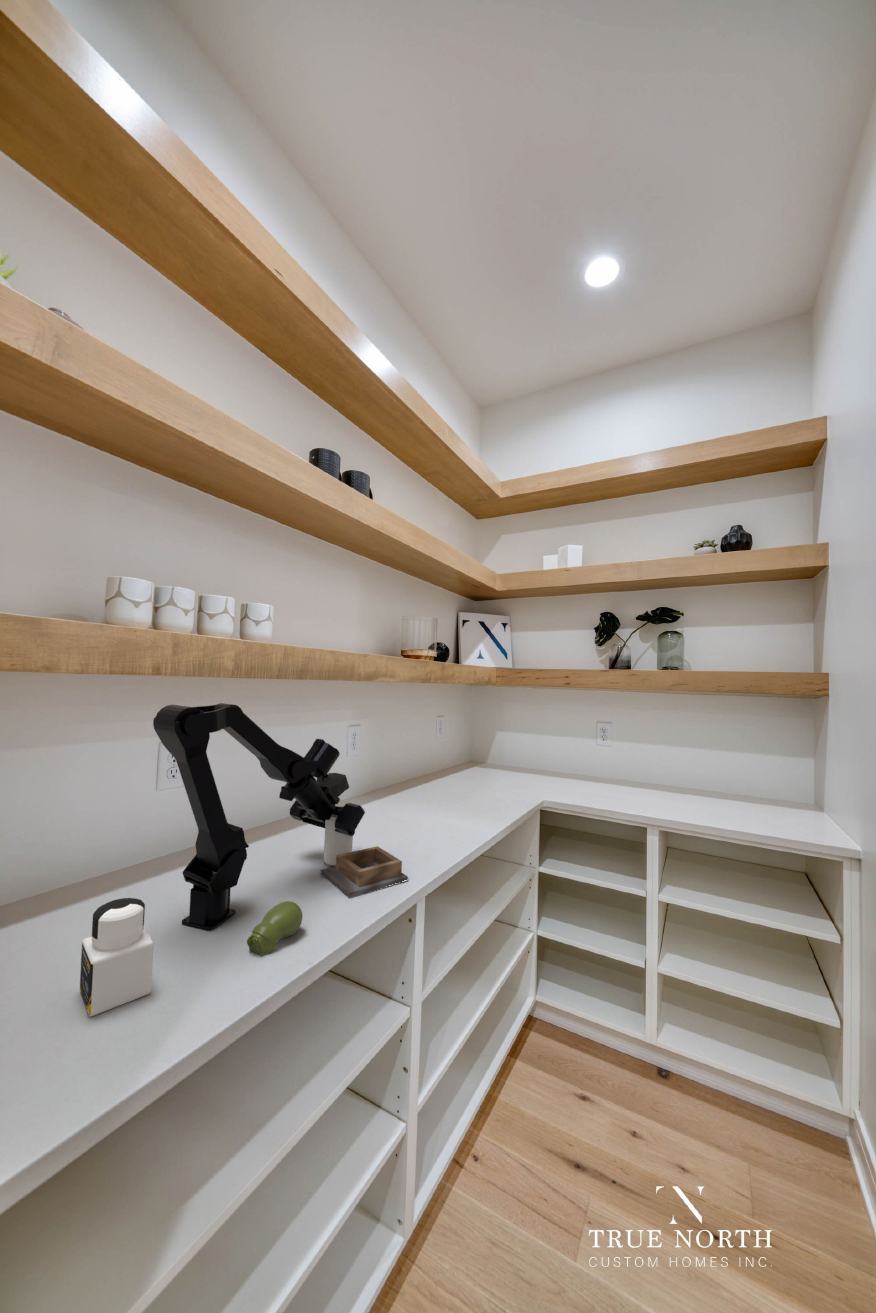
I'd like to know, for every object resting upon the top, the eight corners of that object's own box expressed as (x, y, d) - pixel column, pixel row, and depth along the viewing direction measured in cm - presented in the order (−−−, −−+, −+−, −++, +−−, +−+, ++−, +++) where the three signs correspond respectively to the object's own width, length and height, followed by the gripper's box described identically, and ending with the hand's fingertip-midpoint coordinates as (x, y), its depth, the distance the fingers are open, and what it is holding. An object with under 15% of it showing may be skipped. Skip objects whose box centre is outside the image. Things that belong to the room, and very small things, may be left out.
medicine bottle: (79, 990, 67) (83, 902, 68) (138, 969, 72) (142, 887, 72) (88, 1018, 62) (93, 923, 62) (151, 993, 67) (156, 906, 67)
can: (348, 867, 111) (350, 814, 111) (320, 866, 111) (322, 813, 111) (354, 856, 117) (356, 806, 118) (327, 855, 118) (329, 805, 118)
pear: (308, 899, 84) (263, 937, 75) (310, 928, 85) (266, 968, 76) (283, 891, 86) (237, 926, 78) (286, 919, 87) (240, 956, 78)
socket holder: (349, 898, 97) (349, 877, 97) (321, 874, 107) (322, 855, 107) (407, 881, 105) (408, 862, 105) (376, 860, 115) (377, 843, 115)
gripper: (360, 769, 106) (390, 809, 115) (301, 758, 116) (332, 795, 125) (333, 814, 100) (366, 852, 109) (272, 798, 110) (308, 834, 119)
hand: (343, 831), depth 116 cm, fingers closed on can, 6 cm apart
